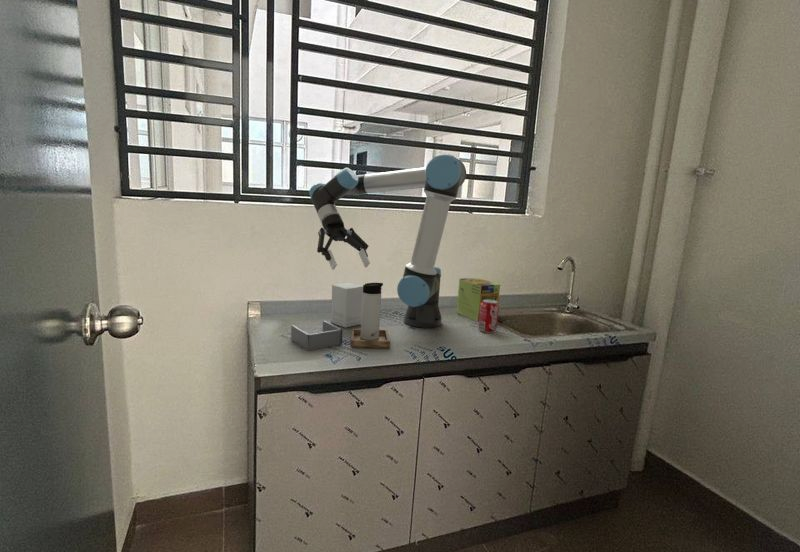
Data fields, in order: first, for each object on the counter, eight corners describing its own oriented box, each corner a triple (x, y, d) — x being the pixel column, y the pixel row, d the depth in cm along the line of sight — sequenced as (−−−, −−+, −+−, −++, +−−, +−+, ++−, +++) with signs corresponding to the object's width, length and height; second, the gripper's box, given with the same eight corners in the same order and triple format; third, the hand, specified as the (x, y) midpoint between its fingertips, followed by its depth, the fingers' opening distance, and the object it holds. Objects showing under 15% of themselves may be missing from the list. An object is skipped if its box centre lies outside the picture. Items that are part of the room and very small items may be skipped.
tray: (386, 336, 158) (387, 329, 157) (389, 348, 145) (390, 341, 145) (351, 335, 156) (351, 328, 156) (351, 347, 144) (351, 340, 143)
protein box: (477, 322, 183) (481, 285, 180) (455, 312, 196) (458, 278, 194) (497, 320, 188) (501, 284, 185) (474, 310, 201) (477, 277, 199)
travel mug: (376, 344, 147) (380, 285, 143) (357, 341, 148) (360, 283, 145) (381, 338, 153) (384, 281, 149) (363, 336, 154) (366, 279, 151)
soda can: (498, 330, 173) (501, 300, 171) (494, 335, 167) (497, 304, 165) (480, 327, 176) (483, 297, 174) (475, 331, 170) (478, 301, 168)
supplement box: (363, 324, 171) (365, 286, 168) (345, 328, 164) (346, 288, 161) (348, 318, 177) (349, 282, 174) (330, 322, 170) (331, 284, 168)
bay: (342, 344, 147) (342, 329, 146) (307, 350, 139) (307, 335, 138) (324, 334, 156) (324, 320, 155) (291, 339, 148) (291, 325, 147)
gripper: (355, 226, 174) (375, 270, 165) (296, 226, 158) (315, 274, 150) (363, 213, 169) (384, 258, 160) (303, 212, 153) (323, 261, 145)
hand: (351, 266), depth 155 cm, fingers open, 13 cm apart
